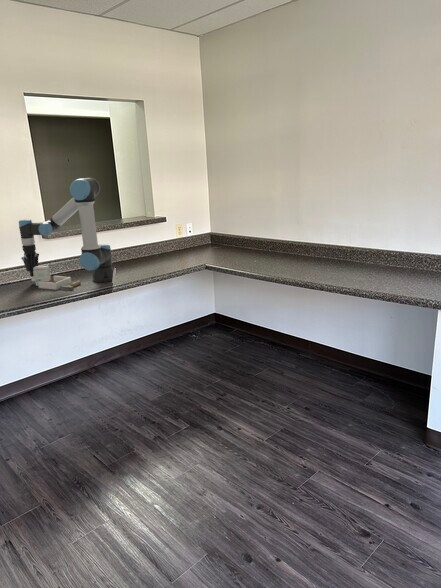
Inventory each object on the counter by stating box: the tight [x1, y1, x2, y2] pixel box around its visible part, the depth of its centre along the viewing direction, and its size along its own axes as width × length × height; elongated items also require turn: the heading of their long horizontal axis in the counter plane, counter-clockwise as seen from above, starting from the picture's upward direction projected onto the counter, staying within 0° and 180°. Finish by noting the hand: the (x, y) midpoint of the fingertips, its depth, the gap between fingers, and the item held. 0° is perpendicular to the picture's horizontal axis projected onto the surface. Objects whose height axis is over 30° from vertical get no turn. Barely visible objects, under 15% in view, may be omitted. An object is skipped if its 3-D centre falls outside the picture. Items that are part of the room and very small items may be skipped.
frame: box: [38, 275, 73, 291], centre depth 278 cm, size 13×15×4 cm
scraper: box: [59, 280, 82, 291], centre depth 274 cm, size 13×8×2 cm, turn 159°
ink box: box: [33, 265, 52, 287], centre depth 280 cm, size 9×5×12 cm, turn 95°
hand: (34, 280), depth 284 cm, fingers closed
